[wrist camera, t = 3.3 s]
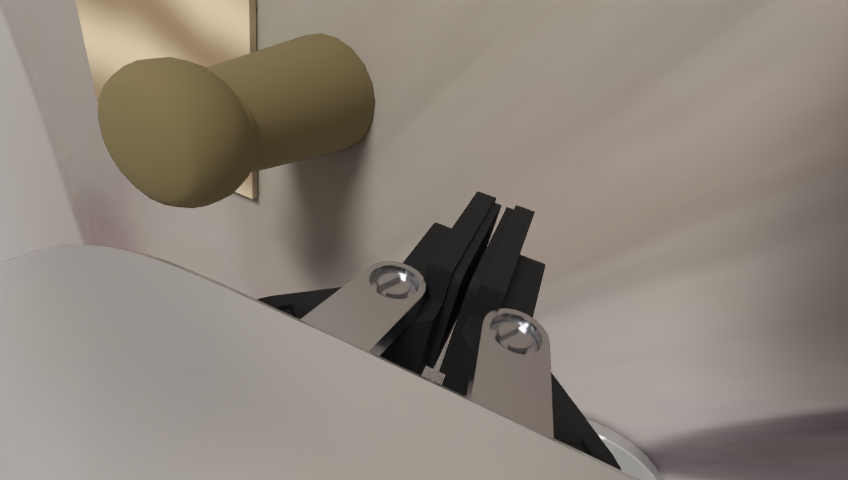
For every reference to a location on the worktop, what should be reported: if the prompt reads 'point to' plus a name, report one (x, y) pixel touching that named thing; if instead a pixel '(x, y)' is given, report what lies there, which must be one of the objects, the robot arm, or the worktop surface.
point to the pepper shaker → (232, 116)
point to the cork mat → (167, 37)
